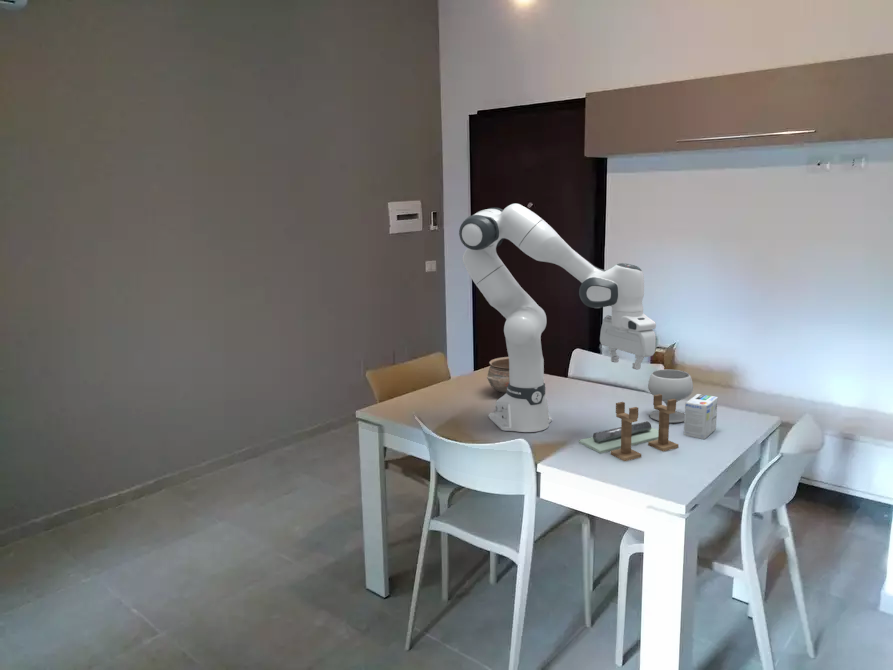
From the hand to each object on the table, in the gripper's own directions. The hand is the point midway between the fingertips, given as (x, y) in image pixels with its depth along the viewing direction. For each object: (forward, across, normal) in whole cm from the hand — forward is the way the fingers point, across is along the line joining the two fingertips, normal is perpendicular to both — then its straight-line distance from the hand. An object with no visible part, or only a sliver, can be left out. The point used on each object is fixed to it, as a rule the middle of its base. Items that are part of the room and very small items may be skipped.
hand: (625, 365), depth 195 cm
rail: (+22, 0, 0) cm, 22 cm away
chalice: (+23, -8, +26) cm, 36 cm away
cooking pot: (+24, -59, -3) cm, 64 cm away
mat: (+23, 0, 0) cm, 23 cm away
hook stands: (+23, +10, -1) cm, 25 cm away
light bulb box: (+23, +7, +24) cm, 34 cm away
